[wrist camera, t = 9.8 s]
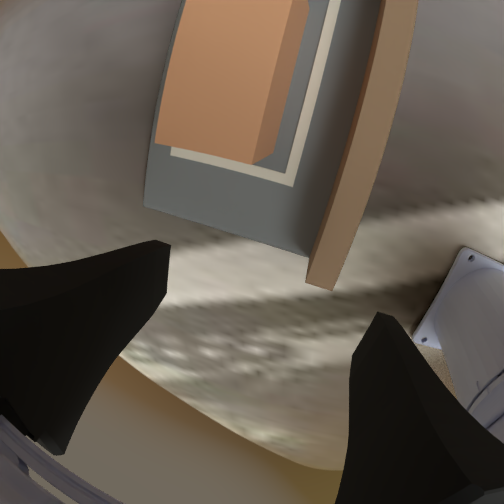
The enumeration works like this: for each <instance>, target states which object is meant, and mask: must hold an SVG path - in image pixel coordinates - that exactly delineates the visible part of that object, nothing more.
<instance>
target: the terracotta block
mask: <svg viewBox="0 0 504 504" xmlns="http://www.w3.org/2000/svg"><path fill="white" fill-rule="evenodd" d="M308 13H309V3H308V0H186V3H185V6H184V9H183V13H182V16H181V20H180V23H179V27H178V31H177V34H176V38H175V42H174V46H173V50H172V54H171V58H170V63H169V67H168V71H167V76H166V81H165V85H164V90H163V95H162V101H161V106H160V112H159V117H158V123H157V129H156V136H155V143H157V144H162V145H167V146H172V147H177V148H182V149H186V150H191V151H196V152H200V153H205V154H209V155H213V156H217V157H222V158H226V159H230V160H234V161H238V162H242V163H246V164H250V165H252V164H254V163H256V162H258V161H260V160H261V159H263V158H265V157H267V156H269V155H270V154H272V153H273V152H274V148H275V144H276V140H277V136H278V132H279V128H280V124H281V120H282V116H283V112H284V108H285V104H286V100H287V96H288V92H289V88H290V84H291V80H292V76H293V72H294V68H295V64H296V60H297V56H298V52H299V48H300V44H301V40H302V36H303V32H304V28H305V24H306V21H307V17H308Z"/></svg>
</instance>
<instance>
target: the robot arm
mask: <svg viewBox="0 0 504 504" xmlns="http://www.w3.org/2000/svg"><path fill="white" fill-rule="evenodd" d="M170 248H171V245H169V244H166V243H163V242H160V241H158V240H151V241H146V242H142V243H138V244H135V245H131V246H128V247H124V248H121V249H117V250H114V251H110V252H107V253H103V254H99V255H95V256H91V257H88V258H84V259H80V260H76V261H71V262H66V263H61V264H55V265H49V266H40V267H30V268H19V269H0V504H65V503H64V502H62V501H61V500H59V499H58V498H57V497H55V496H54V495H53V494H51V493H50V492H49V491H47V490H46V489H44V488H43V487H42V486H41V485H39V484H38V483H37V482H35V481H34V480H33V479H32V478H31V477H30V476H29V469H28V467H27V465H28V466H29V467H30V468H31V469H32V470H34V471H35V472H36V473H37V474H39V475H40V476H41V477H42V478H44V479H45V480H46V481H47V482H49V483H50V484H51V485H53V486H54V487H56V488H57V489H58V490H60V491H61V492H63V493H64V494H65V495H67V496H68V497H70V498H71V499H73V500H74V501H76V502H77V503H79V504H124V503H122V502H121V501H119V500H117V499H115V498H113V497H111V496H109V495H108V494H106V493H104V492H102V491H101V490H99V489H97V488H96V487H94V486H92V485H91V484H89V483H87V482H86V481H84V480H83V479H81V478H80V477H78V476H77V475H75V474H74V473H72V472H71V471H69V470H68V469H66V468H65V467H63V466H62V465H61V464H59V463H58V462H57V461H55V460H54V459H52V458H51V457H50V456H49V455H47V454H46V453H45V452H43V451H42V450H41V449H40V448H39V447H37V446H36V445H35V444H34V443H32V442H31V441H30V440H29V439H28V438H27V437H25V436H26V435H27V436H28V437H29V438H31V439H32V440H33V441H34V442H38V443H39V444H40V445H41V446H43V447H44V448H45V449H46V450H48V451H49V452H50V453H52V454H53V455H56V456H57V455H63V454H65V451H66V448H67V446H68V443H69V441H70V439H71V436H72V434H73V432H74V430H75V427H76V425H77V423H78V421H79V419H80V417H81V415H82V413H83V411H84V409H85V407H86V405H87V404H88V402H89V400H90V398H91V396H92V395H93V393H94V391H95V390H96V388H97V386H98V384H99V383H100V381H101V380H102V378H103V377H104V375H105V373H106V372H107V370H108V369H109V367H110V366H111V364H112V363H113V362H114V360H115V359H116V358H117V356H118V355H119V354H120V353H121V352H122V350H123V349H124V348H125V347H126V346H127V344H128V343H129V342H130V341H131V340H132V339H133V337H134V336H135V335H136V334H137V333H138V332H139V331H140V329H141V328H142V327H143V326H144V325H145V323H146V322H147V321H148V320H149V319H150V318H151V316H152V315H153V314H154V312H155V311H156V309H157V308H158V306H159V305H160V303H161V301H162V300H163V298H164V297H165V295H166V293H167V280H168V269H169V258H170ZM471 255H473V256H472V258H471V259H470V260H468V259H469V257H470V256H471ZM424 337H426V338H425V339H422V338H424ZM412 339H413V341H414V342H415V343H418V344H422V345H425V346H429V347H433V348H437V349H441V350H442V351H443V354H444V357H445V360H446V363H447V366H448V369H449V372H450V375H451V379H452V382H453V385H454V389H455V392H456V396H457V399H458V400H457V399H456V398H455V397H454V396H453V395H452V394H451V392H450V391H449V390H448V389H447V388H446V386H445V385H444V384H443V383H442V381H441V380H440V379H439V377H438V376H437V375H436V373H435V372H434V371H433V370H432V368H431V367H430V365H429V364H428V363H427V361H426V360H425V359H424V357H423V356H422V354H421V353H420V351H419V350H418V349H417V347H416V346H415V344H414V343H413V341H412V340H411V339H410V337H409V336H408V334H407V333H406V332H405V330H404V329H403V328H402V326H401V325H400V324H399V322H398V321H397V320H396V319H395V318H394V317H393V316H390V315H387V314H384V313H380V312H377V313H376V315H375V317H374V319H373V321H372V322H371V324H370V326H369V328H368V329H367V331H366V333H365V335H364V336H363V338H362V340H361V341H360V343H359V345H358V346H357V348H356V350H355V351H354V353H353V354H352V362H351V369H350V378H349V437H348V448H347V453H346V459H345V465H344V470H343V474H342V479H341V483H340V487H339V491H338V495H337V498H336V501H335V504H504V264H502V263H500V262H497V261H495V260H493V259H491V258H489V257H487V256H485V255H483V254H481V253H479V252H476V251H474V250H472V249H470V248H468V247H464V248H462V249H461V250H460V251H459V253H458V255H457V257H456V259H455V261H454V263H453V266H452V267H451V269H450V271H449V273H448V275H447V277H446V279H445V281H444V283H443V285H442V287H441V288H440V290H439V292H438V294H437V296H436V297H435V299H434V301H433V303H432V304H431V306H430V308H429V309H428V311H427V313H426V314H425V316H424V318H423V319H422V321H421V322H420V324H419V326H418V327H417V329H416V330H415V332H414V333H413V335H412Z"/></svg>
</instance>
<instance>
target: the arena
mask: <svg viewBox="0 0 504 504" xmlns="http://www.w3.org/2000/svg"><path fill="white" fill-rule="evenodd" d="M185 3H186V0H182V2H181V6H180V9H179V12H178V15H177V19H176V22H175V26H174V30H173V33H172V37H171V41H170V45H169V49H168V53H167V57H166V61H165V66H164V70H163V75H162V79H161V84H160V89H159V94H158V99H157V104H156V110H155V116H154V122H153V128H152V134H151V141H150V148H149V155H148V163H147V171H146V180H145V190H144V200H143V206H144V207H147V208H150V209H154V210H157V211H160V212H164V213H167V214H170V215H174V216H177V217H180V218H183V219H187V220H190V221H193V222H196V223H200V224H203V225H206V226H209V227H213V228H216V229H219V230H222V231H225V232H229V233H232V234H235V235H238V236H241V237H245V238H248V239H251V240H254V241H257V242H261V243H264V244H267V245H270V246H273V247H276V248H280V249H283V250H286V251H289V252H292V253H295V254H298V255H302V256H305V257H308V258H309V262H308V269H307V275H306V281H305V283H308V284H311V285H314V286H318V287H321V288H324V289H327V290H330V291H332V290H333V288H334V286H335V283H336V281H337V279H338V276H339V274H340V272H341V269H342V267H343V264H344V262H345V259H346V257H347V254H348V252H349V249H350V247H351V244H352V242H353V239H354V237H355V234H356V231H357V229H358V226H359V223H360V221H361V218H362V215H363V213H364V210H365V207H366V204H367V201H368V199H369V196H370V193H371V190H372V187H373V184H374V181H375V178H376V175H377V172H378V169H379V166H380V163H381V160H382V156H383V153H384V150H385V147H386V143H387V140H388V136H389V133H390V130H391V126H392V122H393V119H394V115H395V111H396V108H397V104H398V100H399V96H400V92H401V88H402V84H403V80H404V75H405V71H406V66H407V62H408V57H409V52H410V47H411V42H412V37H413V31H414V26H415V20H416V13H417V7H418V0H308V3H309V13H308V17H307V21H306V24H305V28H304V32H303V36H302V40H301V44H300V48H299V52H298V56H297V60H296V64H295V68H294V72H293V76H292V80H291V84H290V88H289V92H288V96H287V100H286V104H285V108H284V112H283V116H282V120H281V124H280V128H279V132H278V136H277V140H276V144H275V148H274V152H273V153H272V154H270V155H269V156H267V157H265V158H263V159H261V160H260V161H258V162H256V163H254V164H252V165H250V164H246V163H242V162H238V161H234V160H230V159H226V158H222V157H217V156H213V155H209V154H205V153H200V152H196V151H191V150H186V149H182V148H177V147H172V146H167V145H162V144H157V143H155V136H156V129H157V123H158V117H159V112H160V106H161V101H162V95H163V90H164V85H165V81H166V76H167V71H168V67H169V63H170V58H171V54H172V50H173V46H174V42H175V38H176V34H177V31H178V27H179V23H180V20H181V16H182V13H183V9H184V6H185Z"/></svg>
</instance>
